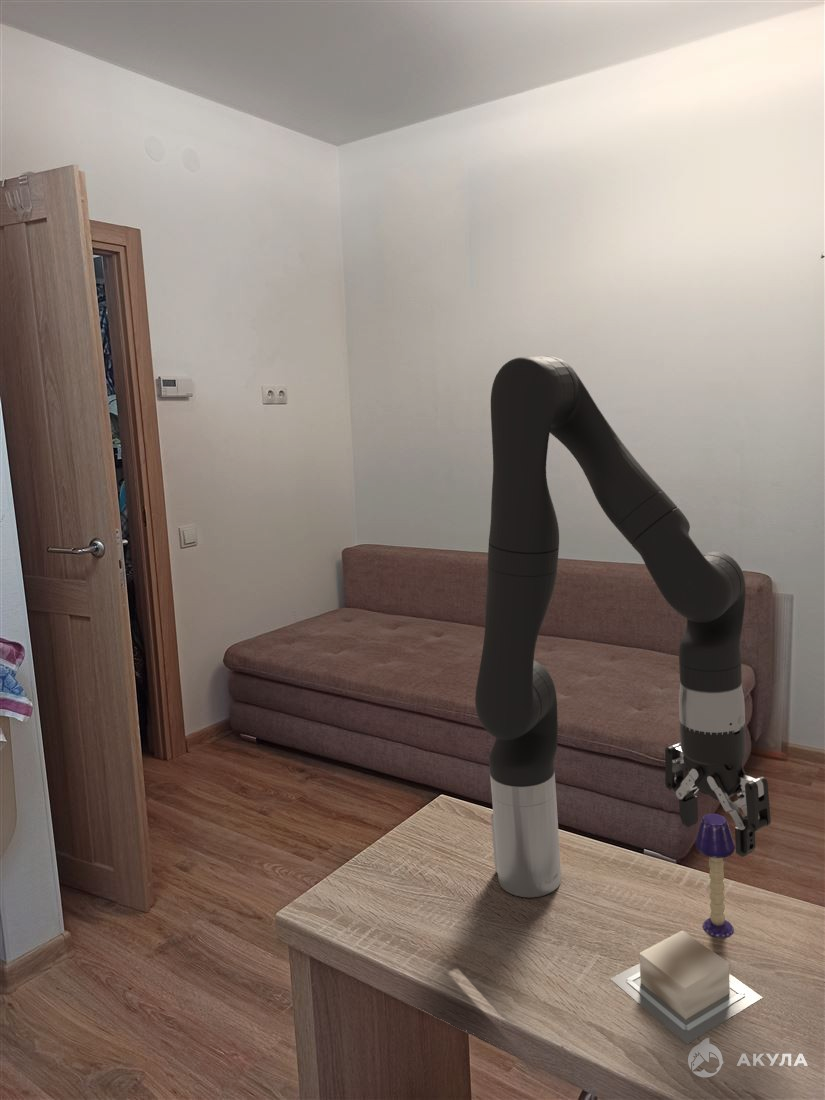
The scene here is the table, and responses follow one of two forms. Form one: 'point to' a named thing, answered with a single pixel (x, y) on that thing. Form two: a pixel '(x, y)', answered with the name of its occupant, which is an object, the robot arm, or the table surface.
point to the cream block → (684, 974)
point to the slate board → (698, 1022)
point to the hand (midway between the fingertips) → (716, 838)
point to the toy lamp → (716, 869)
